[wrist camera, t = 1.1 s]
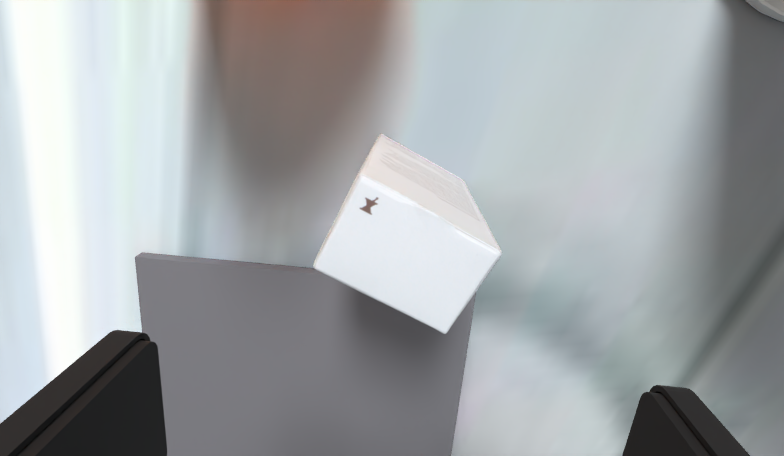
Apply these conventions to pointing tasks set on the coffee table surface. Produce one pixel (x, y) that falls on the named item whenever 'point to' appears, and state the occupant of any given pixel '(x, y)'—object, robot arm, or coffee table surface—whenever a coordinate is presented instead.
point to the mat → (295, 363)
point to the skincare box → (410, 237)
